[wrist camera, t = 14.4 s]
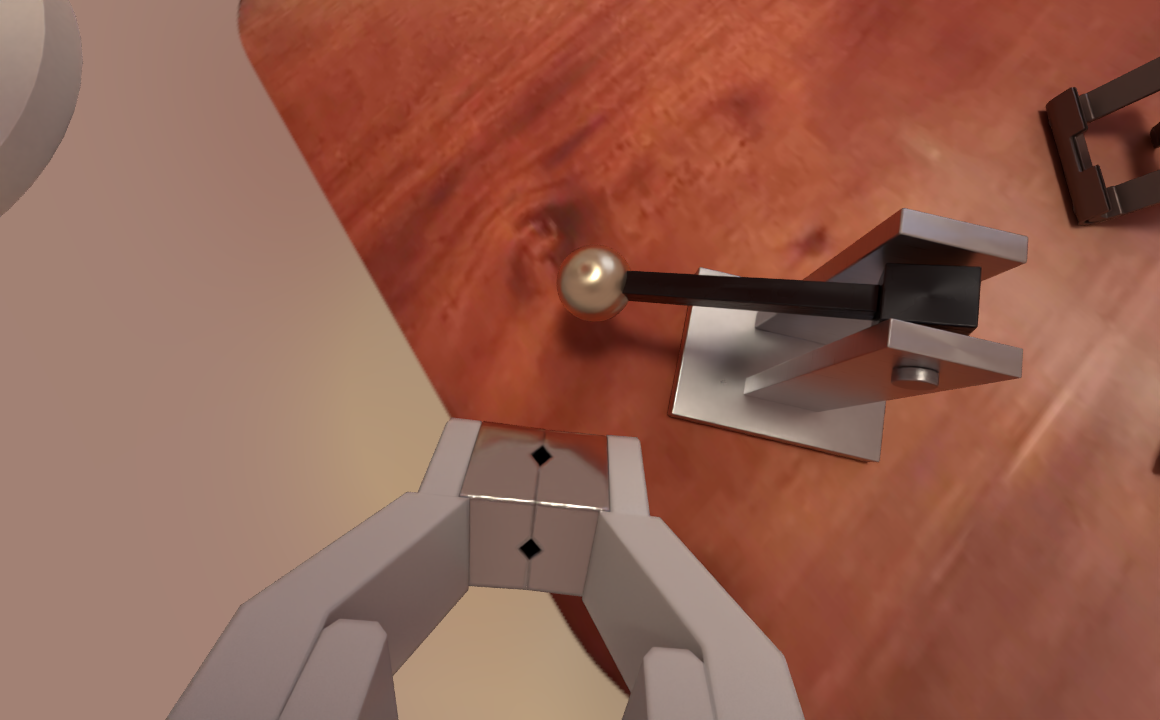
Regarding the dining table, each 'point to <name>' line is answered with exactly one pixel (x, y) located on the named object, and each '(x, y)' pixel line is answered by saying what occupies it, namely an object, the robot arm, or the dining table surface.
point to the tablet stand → (1081, 176)
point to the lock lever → (775, 292)
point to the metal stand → (841, 347)
